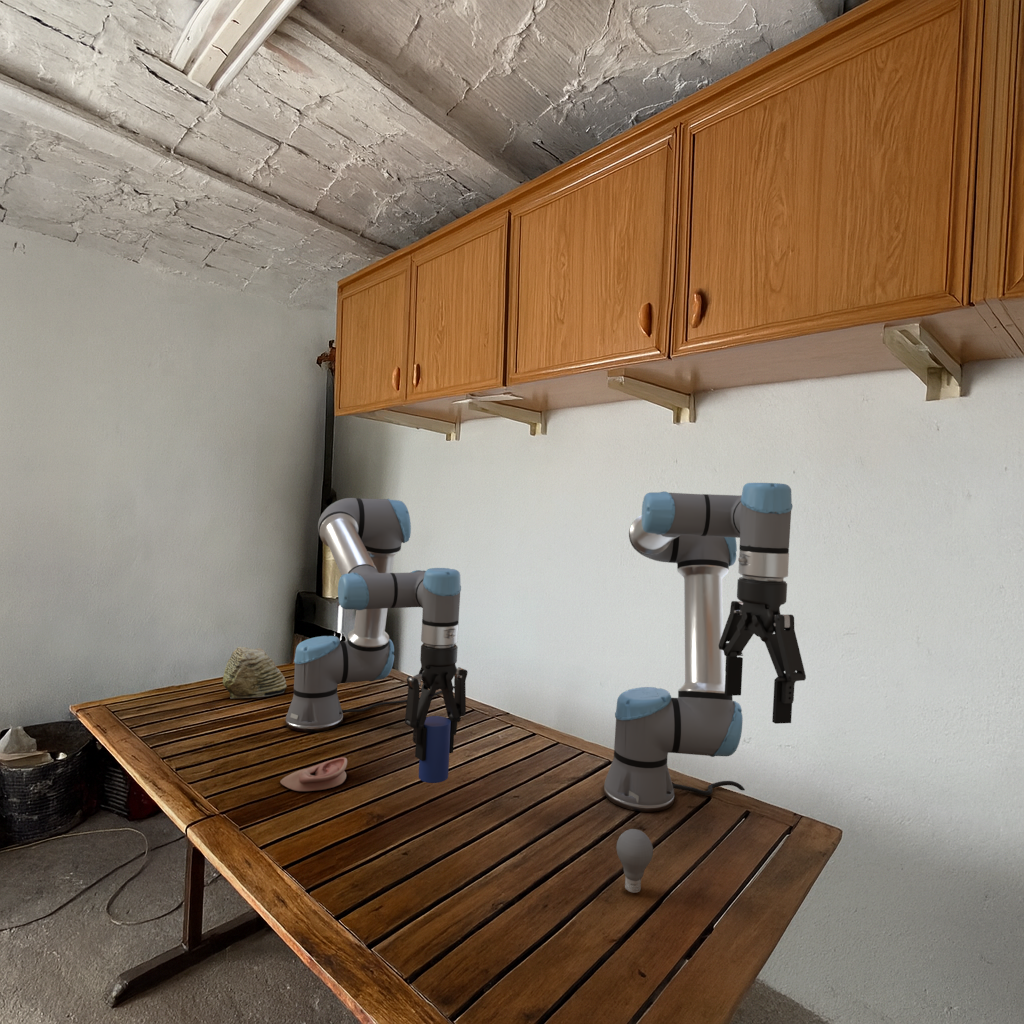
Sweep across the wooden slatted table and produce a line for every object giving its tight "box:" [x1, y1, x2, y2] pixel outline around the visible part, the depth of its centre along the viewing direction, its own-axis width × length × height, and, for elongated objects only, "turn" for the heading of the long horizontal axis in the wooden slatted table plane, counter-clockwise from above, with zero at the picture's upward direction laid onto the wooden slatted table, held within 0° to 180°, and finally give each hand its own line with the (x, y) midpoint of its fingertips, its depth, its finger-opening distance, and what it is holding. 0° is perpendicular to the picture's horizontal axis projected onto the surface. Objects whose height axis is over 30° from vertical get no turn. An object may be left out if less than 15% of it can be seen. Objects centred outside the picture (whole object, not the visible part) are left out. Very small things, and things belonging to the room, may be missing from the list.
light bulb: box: [615, 828, 654, 894], centre depth 106 cm, size 6×6×10 cm
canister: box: [418, 715, 451, 784], centre depth 131 cm, size 6×6×12 cm
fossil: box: [222, 646, 288, 699], centre depth 198 cm, size 9×18×15 cm, turn 132°
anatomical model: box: [279, 756, 348, 792], centre depth 141 cm, size 13×4×12 cm
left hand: (434, 754), depth 131 cm, fingers closed on canister, 6 cm apart
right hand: (755, 708), depth 103 cm, fingers open, 13 cm apart
